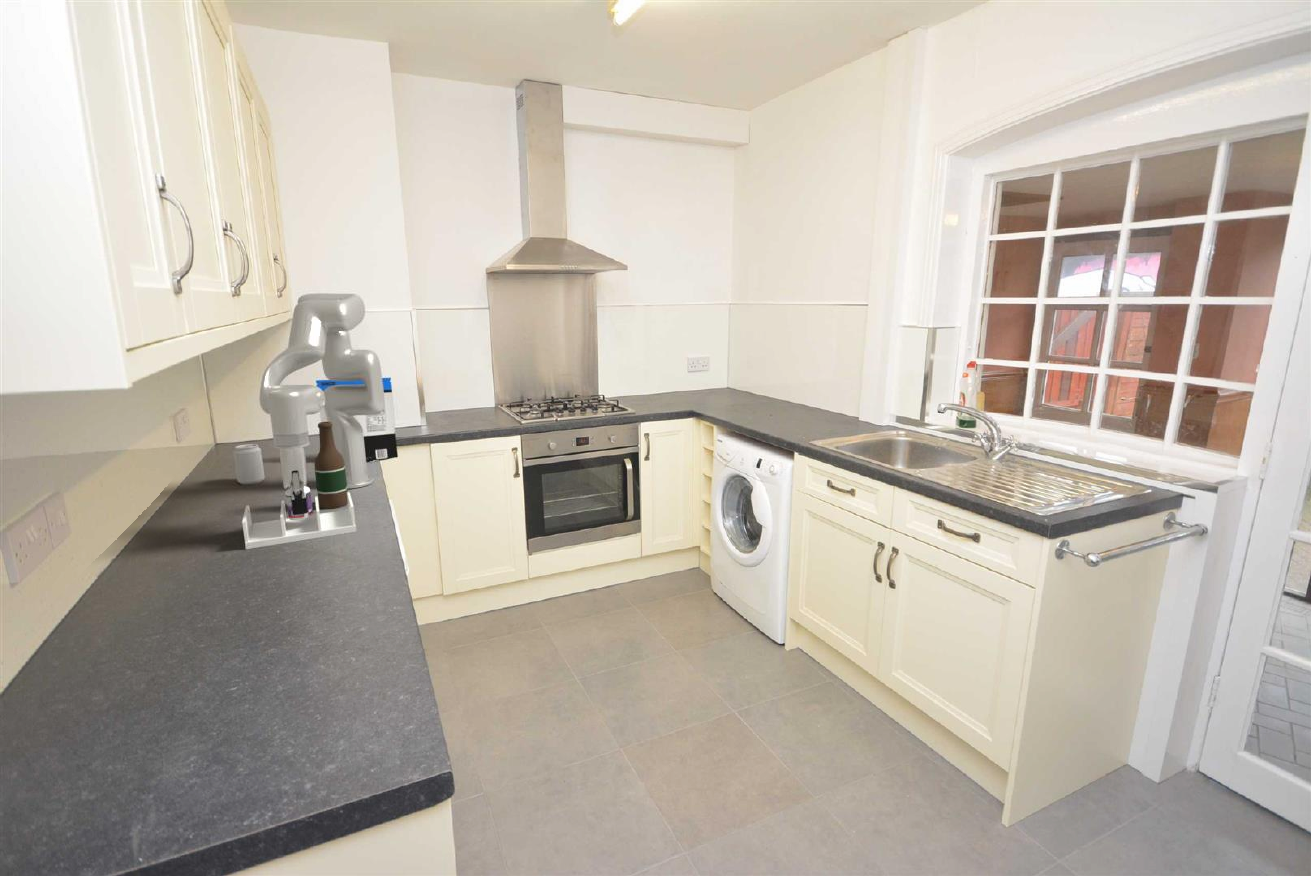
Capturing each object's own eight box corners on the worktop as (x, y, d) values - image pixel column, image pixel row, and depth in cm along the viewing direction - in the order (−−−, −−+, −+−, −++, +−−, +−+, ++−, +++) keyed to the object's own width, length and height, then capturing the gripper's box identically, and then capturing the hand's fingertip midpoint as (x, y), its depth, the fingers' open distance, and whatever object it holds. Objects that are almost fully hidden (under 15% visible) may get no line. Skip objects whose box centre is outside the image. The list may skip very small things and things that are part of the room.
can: (231, 484, 197) (226, 447, 195) (251, 477, 204) (246, 442, 202) (251, 485, 195) (245, 448, 193) (270, 479, 202) (265, 443, 200)
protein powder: (397, 460, 228) (390, 379, 221) (323, 466, 219) (313, 381, 213) (398, 454, 236) (391, 376, 230) (327, 460, 228) (317, 378, 222)
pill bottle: (305, 512, 159) (301, 476, 157) (317, 516, 157) (313, 479, 155) (284, 518, 155) (279, 481, 153) (296, 522, 152) (291, 484, 150)
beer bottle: (322, 511, 171) (312, 426, 166) (316, 504, 177) (306, 422, 172) (352, 505, 176) (343, 422, 171) (345, 499, 182) (336, 418, 177)
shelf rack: (249, 529, 157) (246, 505, 156) (351, 514, 168) (349, 491, 167) (245, 549, 144) (242, 522, 143) (356, 531, 156) (353, 506, 154)
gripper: (274, 435, 157) (283, 503, 161) (272, 448, 142) (282, 523, 146) (308, 432, 161) (316, 499, 164) (309, 445, 146) (318, 517, 150)
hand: (300, 509), depth 155 cm, fingers closed on pill bottle, 5 cm apart
